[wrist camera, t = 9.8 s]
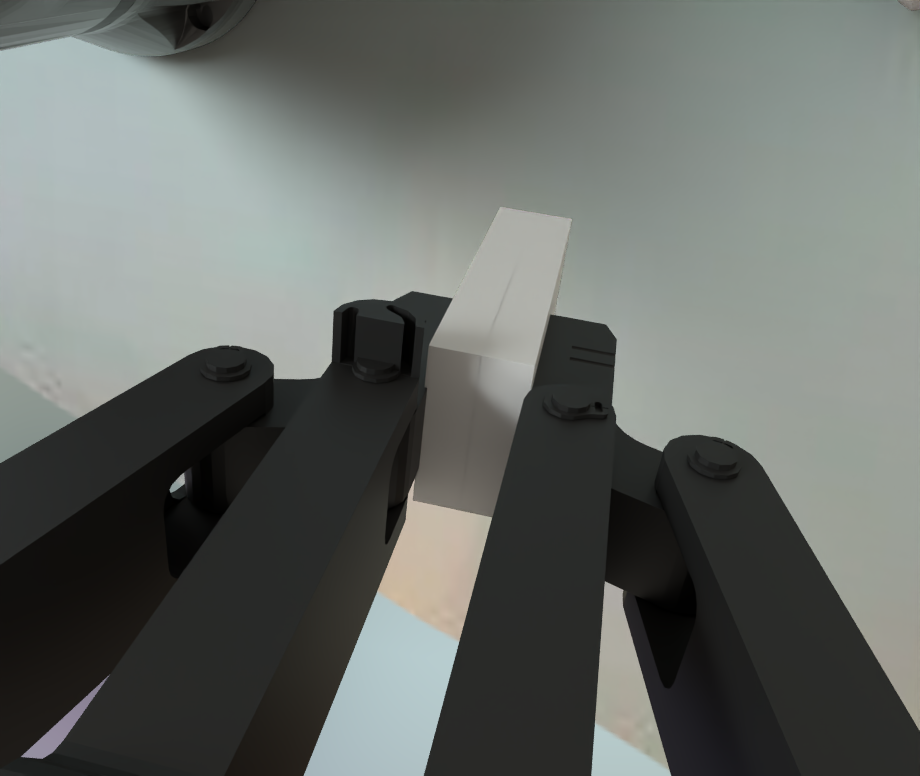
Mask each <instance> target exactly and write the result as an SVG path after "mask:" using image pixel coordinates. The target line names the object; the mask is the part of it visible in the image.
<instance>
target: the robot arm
mask: <svg viewBox="0 0 920 776" xmlns="http://www.w3.org/2000/svg"><path fill="white" fill-rule="evenodd" d="M255 1H256V0H0V51H2V50H7V49H12V48H17V47H22V46H26V45H31V44H36V43H41V42H46V41H51V40H56V39H61V38H66V37H70V36H71V37H74V38H77V39H80V40H83V41H85V42H88V43H91V44H94V45H96V46H99V47H102V48H105V49H108V50H111V51H114V52H118V53H122V54H128V55H135V56H164V55H170V54H175V53H179V52H182V51H186V50H190V49H194V48H197V47H200V46H203V45H206V44H208V43H210V42H212V41H214V40H216V39H218V38H219V37H221V36H223V35H224V34H225V33H227V32H228V31H229V30H231V29H232V28H233V27H234V26H235V25H236V24H237V23H238V22H239V21H240V20H241V19H242V18H243V17H244V16H245V15H246V14H247V12H248V11H249V10H250V9H251V7H252V6H253V4H254V3H255ZM571 223H572V219H570V218H564V217H558V216H552V215H546V214H541V213H535V212H529V211H523V210H517V209H511V208H505V207H500V208H499V210H498V212H497V214H496V216H495V218H494V220H493V222H492V224H491V226H490V228H489V230H488V232H487V233H486V235H485V237H484V239H483V241H482V243H481V245H480V247H479V249H478V251H477V253H476V255H475V257H474V259H473V261H472V263H471V264H470V266H469V268H468V270H467V272H466V274H465V276H464V278H463V280H462V282H461V284H460V286H459V288H458V290H457V292H456V294H455V296H454V297H453V299H452V298H447V297H441V296H436V295H430V294H425V293H419V292H414V291H412V292H410V293H408V294H406V295H404V296H402V297H400V298H398V299H395V300H394V301H385V300H375V299H371V300H357V301H353V302H350V303H346V304H343V305H341V306H340V307H339V308H337V309H336V310H334V317H333V344H332V362H331V364H330V365H329V367H328V368H327V369H326V371H325V372H324V374H323V375H322V376H321V378H316V379H300V380H299V379H274V364H273V363H272V362H271V361H270V359H269V358H268V357H267V356H265V355H263V354H261V353H259V352H257V351H255V350H251V349H247V348H242V347H240V346H231V347H229V346H218V347H214V348H208V349H203V350H200V351H198V352H195V353H193V354H190V355H188V356H186V357H185V358H183V359H181V360H179V361H178V362H176V363H174V364H172V365H171V366H169V367H167V368H165V369H164V370H162V371H160V372H158V373H157V374H155V375H153V376H152V377H150V378H148V379H146V380H145V381H143V382H141V383H139V384H138V385H136V386H134V387H132V388H131V389H129V390H127V391H125V392H124V393H122V394H120V395H118V396H117V397H115V398H113V399H111V400H110V401H108V402H106V403H105V404H103V405H101V406H99V407H98V408H96V409H94V410H92V411H91V412H89V413H87V414H85V415H84V416H82V417H80V418H78V419H77V420H75V421H73V422H71V423H70V424H68V425H66V426H65V427H63V428H61V429H59V430H58V431H56V432H54V433H52V434H51V435H49V436H47V437H46V438H44V439H42V440H40V441H39V442H37V443H35V444H33V445H31V446H30V447H28V448H26V449H25V450H23V451H21V452H19V453H18V454H16V455H14V456H12V457H11V458H9V459H7V460H5V461H4V462H2V463H0V776H304V773H305V771H306V768H307V765H308V763H309V760H310V758H311V756H312V753H313V750H314V748H315V746H316V743H317V740H318V738H319V735H320V733H321V730H322V728H323V725H324V723H325V720H326V718H327V715H328V713H329V710H330V708H331V705H332V703H333V700H334V698H335V695H336V693H337V690H338V688H339V685H340V683H341V680H342V678H343V675H344V673H345V670H346V668H347V665H348V663H349V660H350V658H351V655H352V653H353V650H354V648H355V645H356V643H357V640H358V638H359V635H360V633H361V630H362V628H363V625H364V623H365V620H366V618H367V615H368V613H369V610H370V608H371V605H372V602H373V600H374V598H375V595H376V593H377V590H378V588H379V585H380V583H381V580H382V578H383V575H384V573H385V570H386V568H387V565H388V563H389V560H390V558H391V555H392V553H393V550H394V548H395V545H396V543H397V540H398V538H399V535H400V533H401V530H402V528H403V525H404V523H405V519H406V509H407V499H408V493H409V490H410V488H411V486H412V483H413V481H414V479H415V484H414V493H413V500H414V501H418V502H423V503H428V504H433V505H437V506H442V507H447V508H451V509H456V510H461V511H465V512H470V513H475V514H479V515H484V516H489V517H492V521H491V525H490V528H489V532H488V536H487V540H486V543H485V547H484V551H483V555H482V558H481V562H480V566H479V570H478V574H477V577H476V581H475V585H474V589H473V592H472V596H471V600H470V604H469V608H468V611H467V615H466V619H465V623H464V626H463V630H462V634H461V638H460V641H459V645H458V649H457V653H456V657H455V661H454V664H453V668H452V672H451V675H450V679H449V683H448V687H447V691H446V694H445V698H444V702H443V706H442V709H441V713H440V717H439V721H438V724H437V728H436V732H435V736H434V739H433V743H432V747H431V751H430V755H429V758H428V762H427V766H426V770H425V773H424V776H591V770H592V755H593V742H594V727H595V713H596V699H597V684H598V670H599V656H600V641H601V627H602V612H603V598H604V584H605V581H606V582H608V583H610V584H612V585H614V586H616V587H619V588H621V589H623V590H624V591H623V608H624V611H625V615H626V618H627V622H628V625H629V629H630V632H631V636H632V639H633V643H634V646H635V650H636V653H637V657H638V660H639V664H640V667H641V671H642V674H643V678H644V681H645V685H646V688H647V692H648V695H649V699H650V703H651V706H652V710H653V713H654V717H655V720H656V724H657V727H658V731H659V734H660V738H661V741H662V745H663V748H664V752H665V755H666V759H667V762H668V766H669V769H670V773H671V776H920V731H919V729H918V728H917V726H916V724H915V723H914V721H913V719H912V717H911V716H910V714H909V712H908V711H907V709H906V707H905V706H904V704H903V702H902V701H901V699H900V697H899V696H898V694H897V692H896V691H895V689H894V687H893V686H892V684H891V682H890V681H889V679H888V677H887V675H886V674H885V672H884V670H883V669H882V667H881V665H880V664H879V662H878V660H877V659H876V657H875V655H874V654H873V652H872V650H871V649H870V647H869V645H868V644H867V642H866V640H865V639H864V637H863V635H862V633H861V632H860V630H859V628H858V627H857V625H856V623H855V622H854V620H853V618H852V617H851V615H850V613H849V612H848V610H847V608H846V607H845V605H844V603H843V602H842V600H841V598H840V597H839V595H838V593H837V591H836V590H835V588H834V586H833V585H832V583H831V581H830V580H829V578H828V576H827V575H826V573H825V571H824V570H823V568H822V566H821V565H820V563H819V561H818V560H817V558H816V556H815V555H814V553H813V551H812V549H811V548H810V546H809V544H808V543H807V541H806V539H805V538H804V536H803V534H802V533H801V531H800V529H799V528H798V526H797V524H796V523H795V521H794V519H793V518H792V516H791V514H790V513H789V511H788V509H787V507H786V506H785V504H784V502H783V501H782V499H781V497H780V496H779V494H778V492H777V491H776V489H775V487H774V486H773V484H772V482H771V481H770V479H769V477H768V476H767V474H766V472H765V471H764V469H763V467H762V466H761V465H760V463H759V462H758V461H757V460H756V459H755V458H754V457H753V456H752V455H751V454H750V453H748V452H746V451H745V450H743V449H742V448H740V447H739V446H737V445H735V444H734V443H731V442H729V441H727V440H726V441H724V439H721V438H717V437H709V436H703V435H686V436H680V437H678V438H675V439H673V440H670V441H669V443H668V444H667V445H666V447H665V448H664V450H663V452H661V451H659V450H656V449H654V448H651V447H649V446H647V445H645V444H643V443H640V442H638V441H636V440H635V439H633V438H632V437H630V436H629V435H627V434H626V433H624V432H623V431H622V430H621V429H620V428H619V427H618V426H617V424H616V415H615V411H614V408H613V406H612V395H613V382H614V366H615V354H616V341H617V339H616V338H615V336H614V335H613V334H612V332H611V331H610V330H609V328H608V327H607V325H605V324H600V323H594V322H589V321H583V320H578V319H573V318H567V317H562V316H556V315H554V314H555V309H556V304H557V298H558V293H559V287H560V282H561V277H562V271H563V266H564V260H565V255H566V250H567V244H568V239H569V233H570V228H571ZM183 473H184V476H185V484H184V485H183V486H181V487H180V488H179V489H177V490H176V491H174V492H172V493H170V490H169V489H170V487H171V485H172V484H173V483H174V482H175V481H176V480H177V479H178V478H179V476H180V475H181V474H183ZM109 675H110V676H109ZM107 676H109V677H108V678H107V680H106V681H105V683H104V684H103V685H102V687H101V688H100V690H99V691H98V692H97V694H96V695H95V697H94V698H93V700H92V701H91V702H90V704H89V705H88V707H87V709H85V711H84V713H83V714H82V715H81V717H80V718H79V719H78V721H77V722H76V724H75V725H74V726H73V728H72V729H71V731H70V732H69V733H68V735H67V736H66V738H65V739H64V741H63V742H62V743H61V744H60V745H59V746H58V747H57V749H56V750H55V751H54V752H53V753H52V754H50V755H48V756H46V757H45V758H43V759H37V758H25V757H21V756H22V755H23V754H24V753H25V752H26V751H27V750H29V749H30V748H31V747H32V746H33V745H34V744H35V743H36V742H37V741H38V740H39V739H40V738H41V737H43V736H44V735H45V734H46V733H47V732H48V731H49V730H50V729H51V728H52V727H53V726H54V725H56V724H57V723H58V722H59V721H60V720H61V719H62V718H63V717H64V716H65V715H66V714H67V713H69V712H70V711H71V710H72V709H73V708H74V707H75V706H76V705H77V704H78V703H79V702H80V701H82V700H83V699H84V698H85V697H86V696H87V695H88V694H89V693H90V692H91V691H92V690H93V689H95V688H96V687H97V686H98V685H99V684H100V683H101V682H102V681H103V680H104V679H105V678H106V677H107Z"/></svg>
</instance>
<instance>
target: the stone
mask: <svg viewBox="0 0 920 776" xmlns="http://www.w3.org/2000/svg"><path fill="white" fill-rule="evenodd" d="M897 1H899V2H900V3H901V4H902V5H904V6H905V7H906V8H908V9H909V10H911V11H913V10H918V9H920V0H897Z"/></svg>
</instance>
